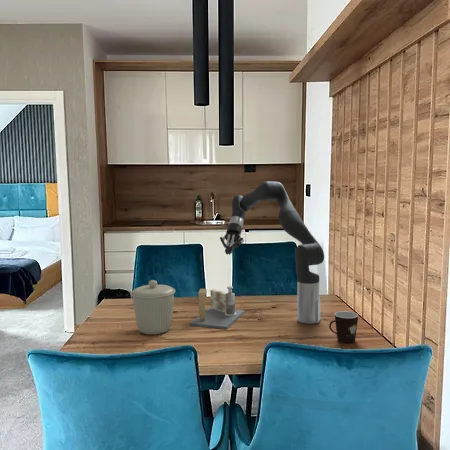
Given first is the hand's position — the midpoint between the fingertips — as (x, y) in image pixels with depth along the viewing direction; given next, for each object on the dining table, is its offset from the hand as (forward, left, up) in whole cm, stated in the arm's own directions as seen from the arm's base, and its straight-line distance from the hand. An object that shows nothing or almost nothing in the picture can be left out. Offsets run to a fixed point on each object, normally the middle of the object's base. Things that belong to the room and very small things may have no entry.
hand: (227, 253), depth 226 cm
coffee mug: (-60, +42, -24) cm, 77 cm away
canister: (+14, +52, -24) cm, 59 cm away
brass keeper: (0, +34, -24) cm, 41 cm away
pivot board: (-6, +30, -24) cm, 39 cm away
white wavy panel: (-5, +23, -22) cm, 32 cm away
